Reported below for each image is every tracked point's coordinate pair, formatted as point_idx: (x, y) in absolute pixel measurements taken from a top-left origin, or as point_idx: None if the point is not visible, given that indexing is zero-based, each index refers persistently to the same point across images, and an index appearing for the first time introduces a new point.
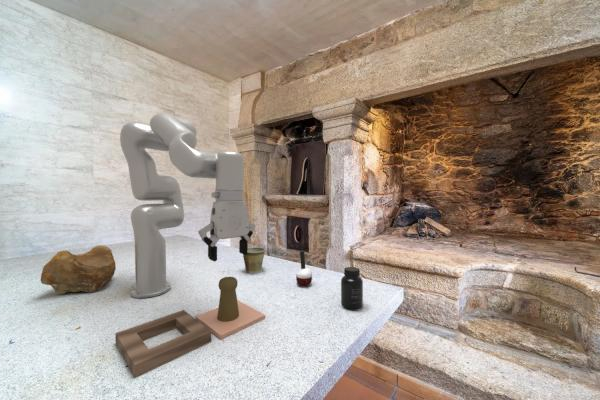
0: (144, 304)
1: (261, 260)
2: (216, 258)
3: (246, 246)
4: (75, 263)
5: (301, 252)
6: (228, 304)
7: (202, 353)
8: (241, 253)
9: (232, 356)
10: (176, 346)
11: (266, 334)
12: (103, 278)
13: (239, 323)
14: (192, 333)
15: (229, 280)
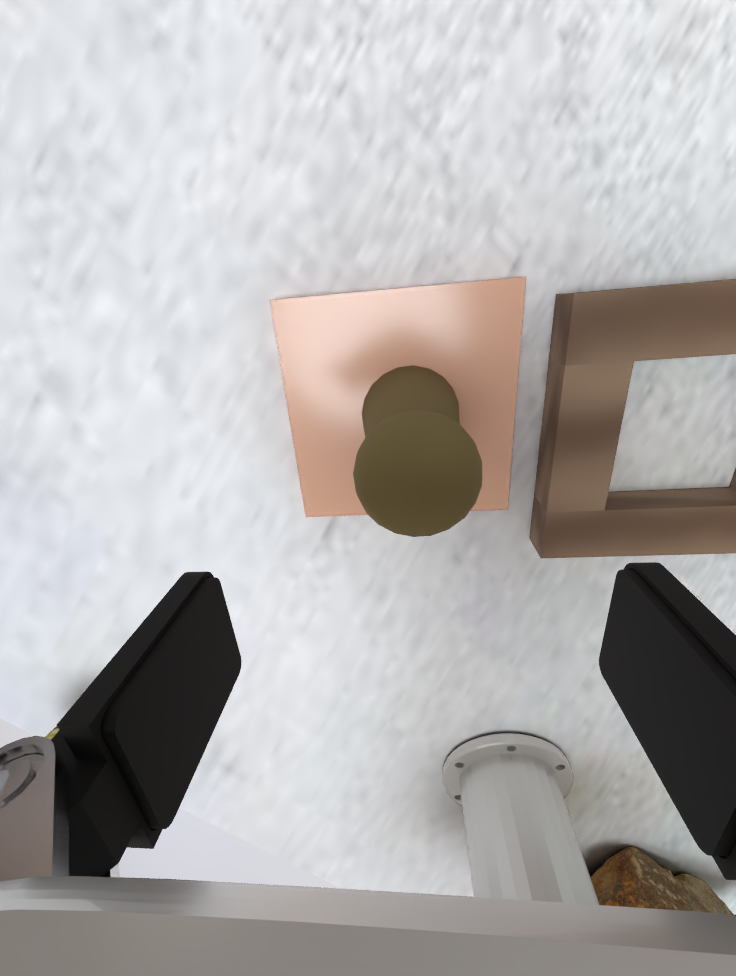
0: (567, 704)
1: (49, 736)
2: (650, 576)
3: (138, 645)
4: None
5: None
6: (435, 395)
7: (631, 232)
8: (230, 635)
9: (565, 97)
10: None
11: (345, 153)
12: (627, 894)
13: (406, 318)
14: (636, 341)
15: (431, 452)
